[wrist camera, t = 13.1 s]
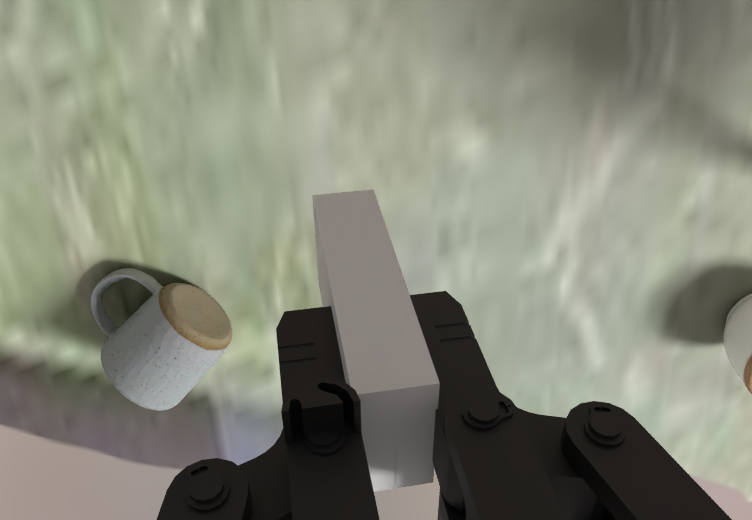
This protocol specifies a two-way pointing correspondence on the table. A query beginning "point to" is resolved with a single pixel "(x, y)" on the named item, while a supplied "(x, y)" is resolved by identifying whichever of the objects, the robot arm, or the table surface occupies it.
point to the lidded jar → (740, 339)
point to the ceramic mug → (161, 340)
